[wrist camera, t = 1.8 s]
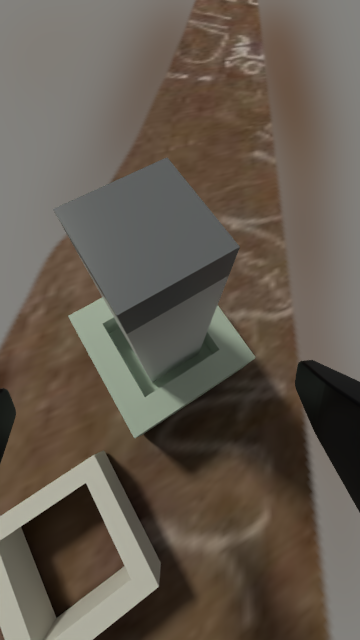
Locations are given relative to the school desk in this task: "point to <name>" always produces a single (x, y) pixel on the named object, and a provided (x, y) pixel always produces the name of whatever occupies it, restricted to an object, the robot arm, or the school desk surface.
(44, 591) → the low collar
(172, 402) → the raised socket
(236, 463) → the school desk surface
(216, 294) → the plug
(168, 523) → the school desk surface
